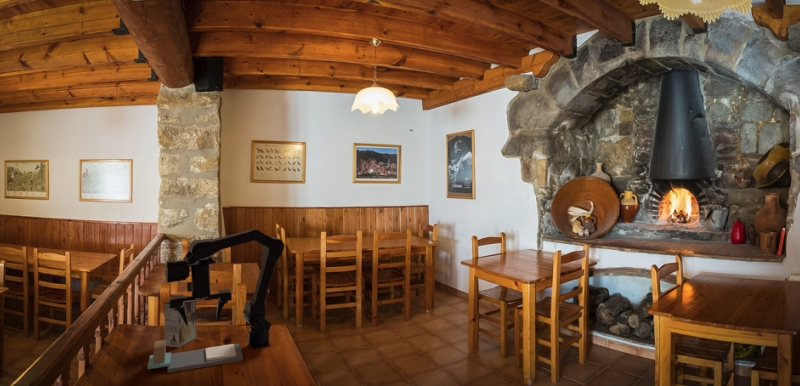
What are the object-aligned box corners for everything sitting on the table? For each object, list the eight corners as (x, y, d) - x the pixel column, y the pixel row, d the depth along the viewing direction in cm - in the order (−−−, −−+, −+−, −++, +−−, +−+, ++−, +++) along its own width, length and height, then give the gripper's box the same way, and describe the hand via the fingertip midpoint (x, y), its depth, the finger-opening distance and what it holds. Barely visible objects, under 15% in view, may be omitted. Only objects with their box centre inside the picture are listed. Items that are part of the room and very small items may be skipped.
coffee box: (181, 336, 160) (181, 294, 159) (196, 338, 158) (196, 296, 158) (163, 346, 151) (163, 301, 150) (179, 348, 149) (179, 303, 149)
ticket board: (239, 347, 151) (239, 341, 151) (242, 360, 140) (242, 354, 140) (169, 357, 141) (169, 351, 141) (167, 372, 131) (167, 366, 131)
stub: (171, 354, 140) (171, 337, 140) (169, 365, 132) (169, 347, 132) (150, 357, 138) (150, 340, 137) (147, 369, 130) (147, 350, 129)
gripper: (228, 269, 153) (229, 311, 154) (170, 275, 145) (172, 320, 146) (231, 276, 143) (232, 321, 144) (168, 283, 135) (170, 331, 136)
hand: (202, 323), depth 142 cm, fingers open, 9 cm apart
